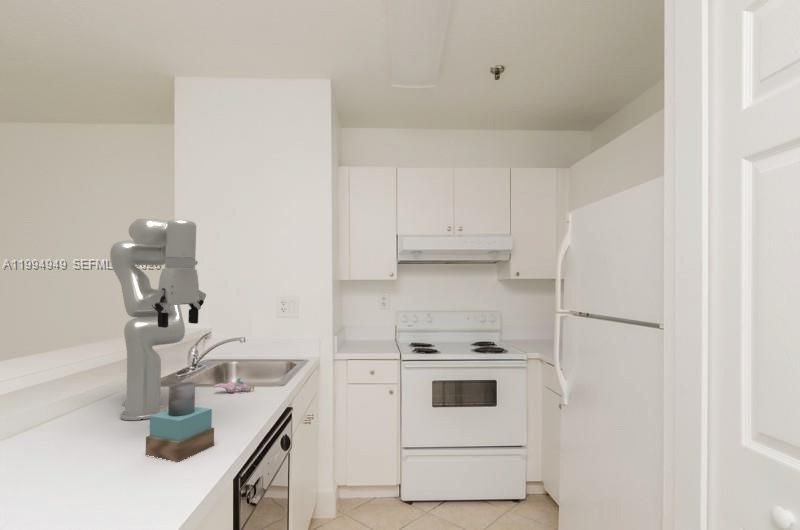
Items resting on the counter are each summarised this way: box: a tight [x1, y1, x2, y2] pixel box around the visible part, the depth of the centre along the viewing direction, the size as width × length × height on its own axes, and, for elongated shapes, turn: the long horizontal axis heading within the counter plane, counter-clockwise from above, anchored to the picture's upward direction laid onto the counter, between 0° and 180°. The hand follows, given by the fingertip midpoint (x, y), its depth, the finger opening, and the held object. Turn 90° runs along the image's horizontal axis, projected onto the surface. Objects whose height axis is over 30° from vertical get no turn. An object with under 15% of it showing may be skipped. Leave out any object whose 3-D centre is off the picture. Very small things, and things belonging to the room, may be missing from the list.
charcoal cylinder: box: [167, 381, 196, 416], centre depth 109 cm, size 6×6×7 cm
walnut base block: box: [145, 427, 215, 463], centre depth 108 cm, size 11×11×5 cm
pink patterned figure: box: [212, 377, 255, 394], centre depth 165 cm, size 6×6×15 cm
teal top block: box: [149, 406, 213, 442], centre depth 109 cm, size 10×10×5 cm
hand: (178, 325), depth 119 cm, fingers open, 9 cm apart
